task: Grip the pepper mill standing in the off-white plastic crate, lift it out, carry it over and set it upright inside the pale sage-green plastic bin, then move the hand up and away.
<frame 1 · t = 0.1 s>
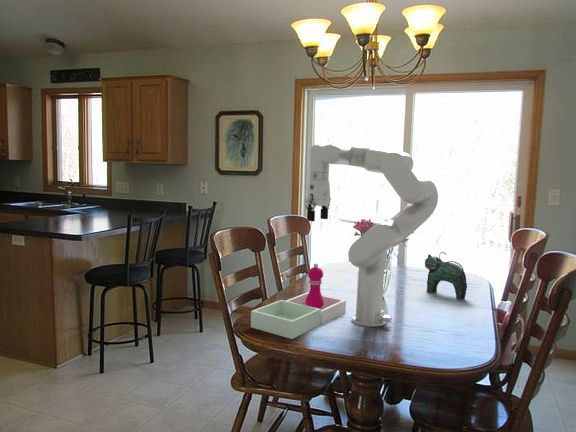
hand: (317, 219, 186), 36 cm above the table, tool pointing down, fingers open, 9 cm apart
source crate: (314, 313, 184), on the table
pepper mill: (314, 313, 184), resting in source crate
ceramic cat: (444, 295, 216), on the table
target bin: (286, 326, 169), on the table
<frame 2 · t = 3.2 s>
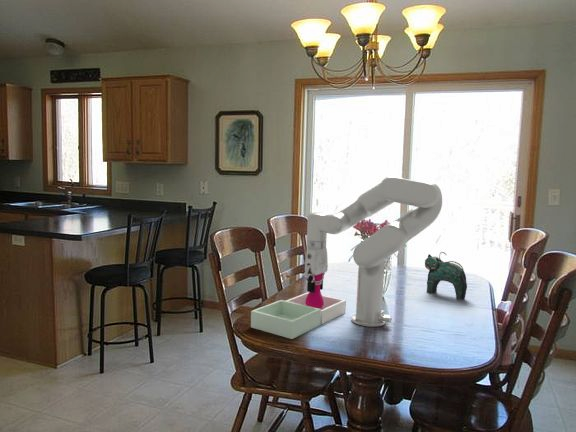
hand: (315, 290, 183), 9 cm above the table, tool pointing down, fingers closed on pepper mill, 5 cm apart
pepper mill: (314, 313, 184), resting in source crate, touching gripper
everything else where it was.
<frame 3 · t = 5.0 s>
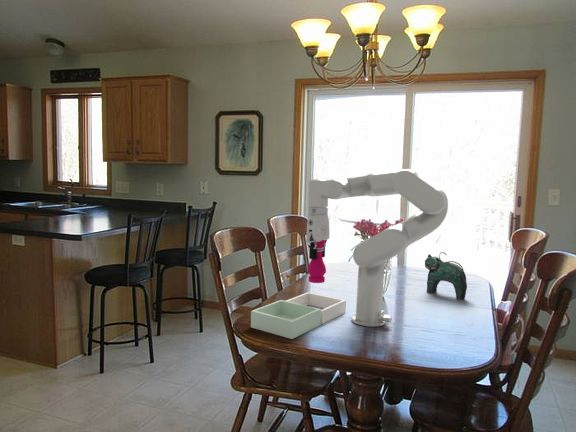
hand: (317, 257, 182), 22 cm above the table, tool pointing down, fingers closed on pepper mill, 5 cm apart
pepper mill: (316, 281, 183), point 13 cm above the table, touching gripper
everything else where it was.
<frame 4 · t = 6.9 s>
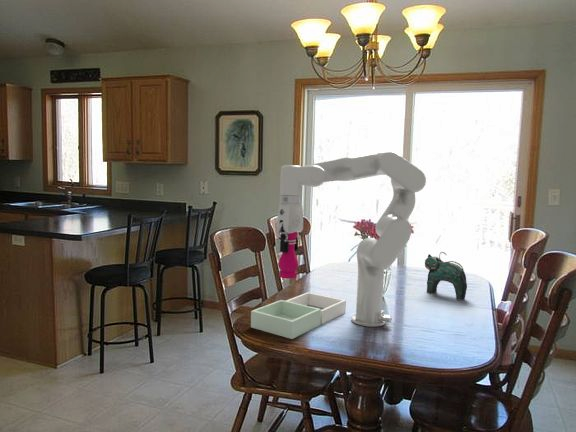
hand: (288, 250, 167), 28 cm above the table, tool pointing down, fingers closed on pepper mill, 5 cm apart
pepper mill: (287, 277, 168), point 18 cm above the table, touching gripper
everything else where it was.
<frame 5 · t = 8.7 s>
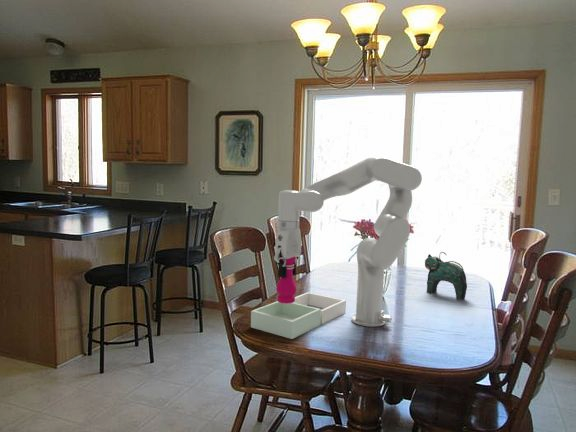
hand: (287, 275, 167), 19 cm above the table, tool pointing down, fingers closed on pepper mill, 5 cm apart
pepper mill: (286, 301, 168), point 9 cm above the table, touching gripper
everything else where it was.
when the fingers open (11 cm above the table, at t = 10.5 s): pepper mill stays where it is, resting on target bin.
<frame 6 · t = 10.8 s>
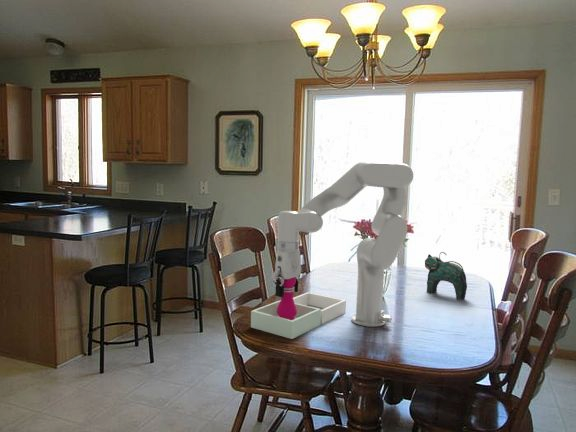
hand: (286, 293, 168), 12 cm above the table, tool pointing down, fingers open, 8 cm apart
pepper mill: (286, 323, 169), point 1 cm above the table, touching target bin
everything else where it was.
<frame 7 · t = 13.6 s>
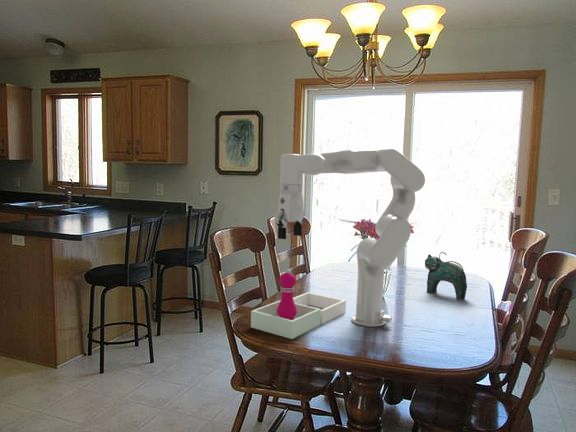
hand: (289, 237, 167), 32 cm above the table, tool pointing down, fingers open, 9 cm apart
nothing on the table moved.
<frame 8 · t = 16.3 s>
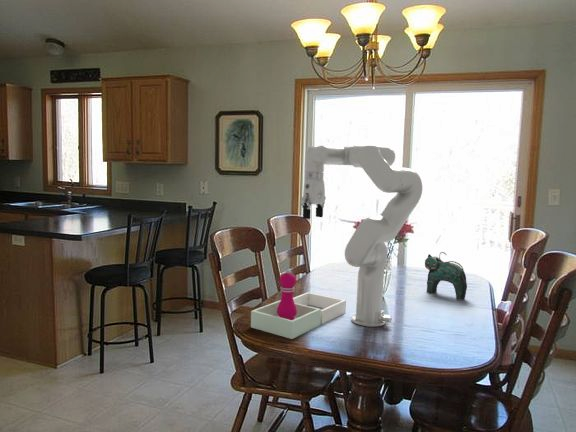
hand: (312, 217, 194), 36 cm above the table, tool pointing down, fingers open, 9 cm apart
nothing on the table moved.
at the end: pepper mill inside the target area on the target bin (0.2 cm from its centre), point 0.8 cm above the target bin's base; pepper mill tilted 0°; the gripper is holding nothing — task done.
